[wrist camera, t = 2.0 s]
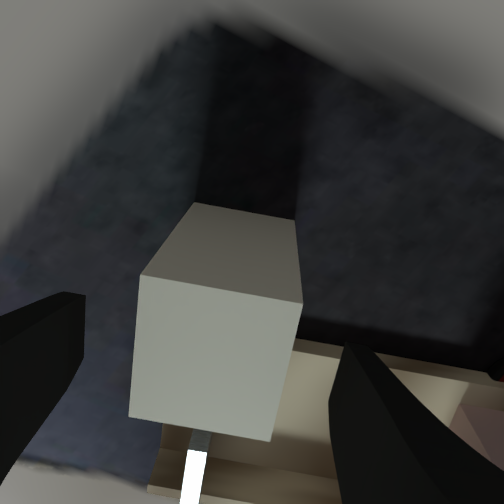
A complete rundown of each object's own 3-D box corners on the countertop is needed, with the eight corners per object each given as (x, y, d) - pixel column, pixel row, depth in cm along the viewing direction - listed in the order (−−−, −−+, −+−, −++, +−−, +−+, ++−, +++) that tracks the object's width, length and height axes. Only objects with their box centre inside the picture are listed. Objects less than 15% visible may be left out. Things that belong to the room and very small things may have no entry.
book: (294, 220, 17) (303, 304, 10) (273, 317, 19) (269, 442, 12) (194, 202, 17) (140, 274, 10) (182, 300, 19) (128, 416, 12)
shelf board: (586, 390, 19) (639, 443, 16) (523, 504, 21) (559, 566, 19) (179, 317, 19) (161, 357, 16) (164, 439, 21) (146, 493, 19)
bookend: (225, 359, 18) (207, 452, 14) (209, 448, 20) (188, 558, 15) (211, 356, 18) (187, 449, 14) (197, 446, 20) (171, 555, 15)
